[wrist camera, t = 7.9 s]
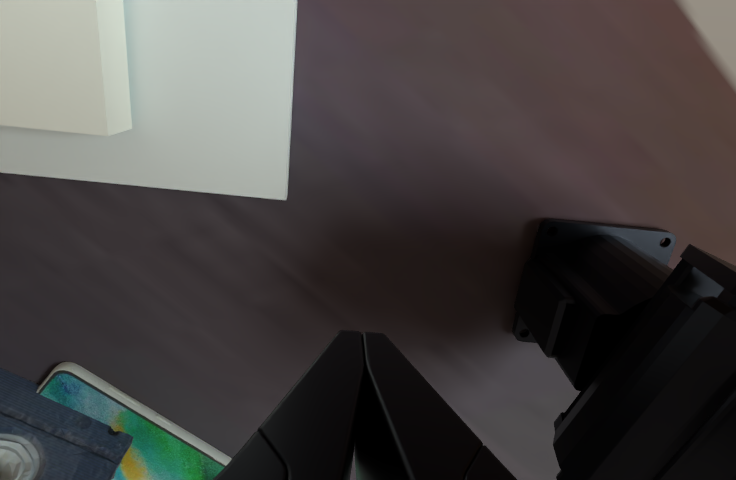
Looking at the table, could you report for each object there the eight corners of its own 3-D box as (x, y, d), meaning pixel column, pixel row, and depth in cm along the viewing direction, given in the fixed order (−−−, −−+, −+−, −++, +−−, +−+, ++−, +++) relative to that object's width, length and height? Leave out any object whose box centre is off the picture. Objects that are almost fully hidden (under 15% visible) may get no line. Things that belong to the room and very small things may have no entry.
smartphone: (218, 563, 29) (-8, 443, 25) (222, 549, 30) (3, 431, 26) (291, 502, 27) (58, 361, 23) (293, 489, 28) (68, 351, 24)
